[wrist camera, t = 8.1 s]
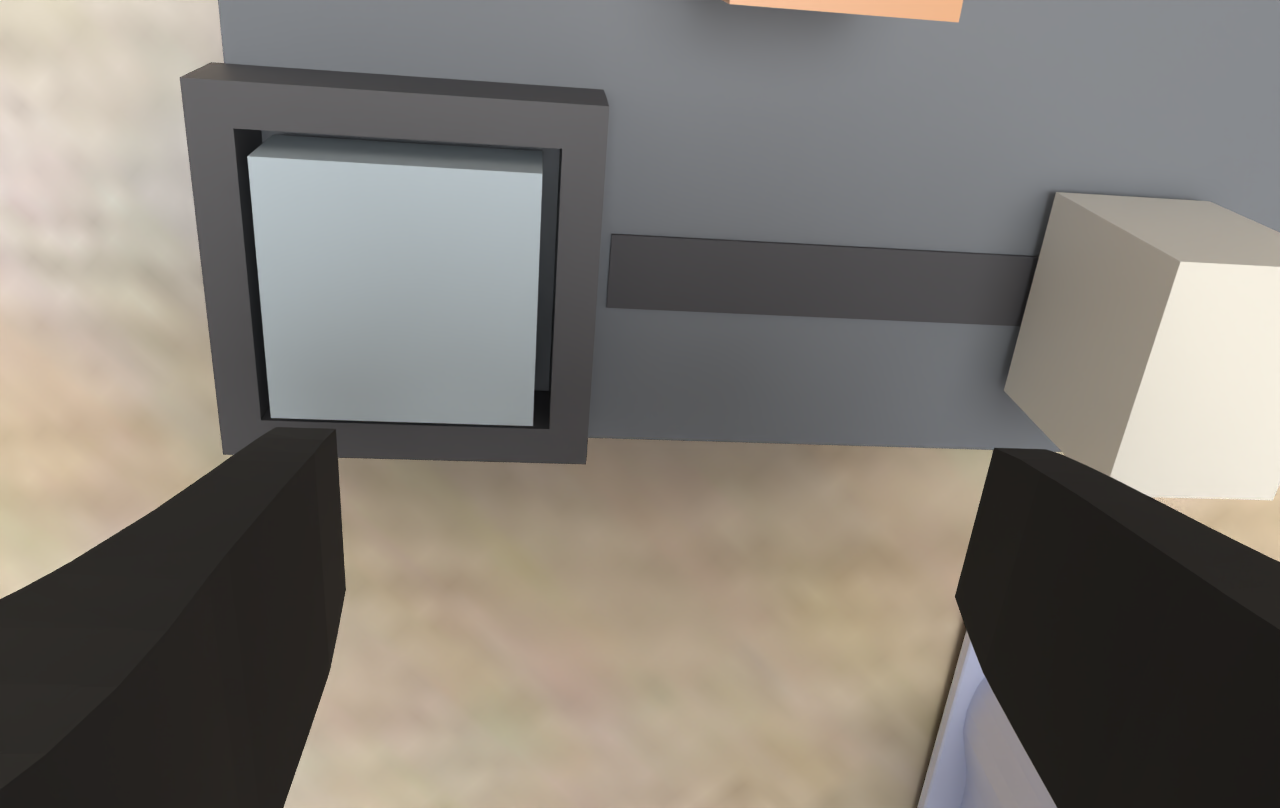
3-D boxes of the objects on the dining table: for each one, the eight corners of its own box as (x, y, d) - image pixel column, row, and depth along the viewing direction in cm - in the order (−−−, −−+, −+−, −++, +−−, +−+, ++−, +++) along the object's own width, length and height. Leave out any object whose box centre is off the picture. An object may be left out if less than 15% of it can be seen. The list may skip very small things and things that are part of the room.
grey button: (533, 386, 19) (532, 425, 17) (291, 377, 18) (270, 418, 17) (542, 151, 17) (542, 173, 16) (272, 134, 16) (247, 156, 15)
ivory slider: (1144, 396, 20) (1273, 500, 17) (1003, 390, 20) (1103, 495, 16) (1209, 201, 19) (1367, 271, 15) (1056, 192, 18) (1180, 261, 15)
